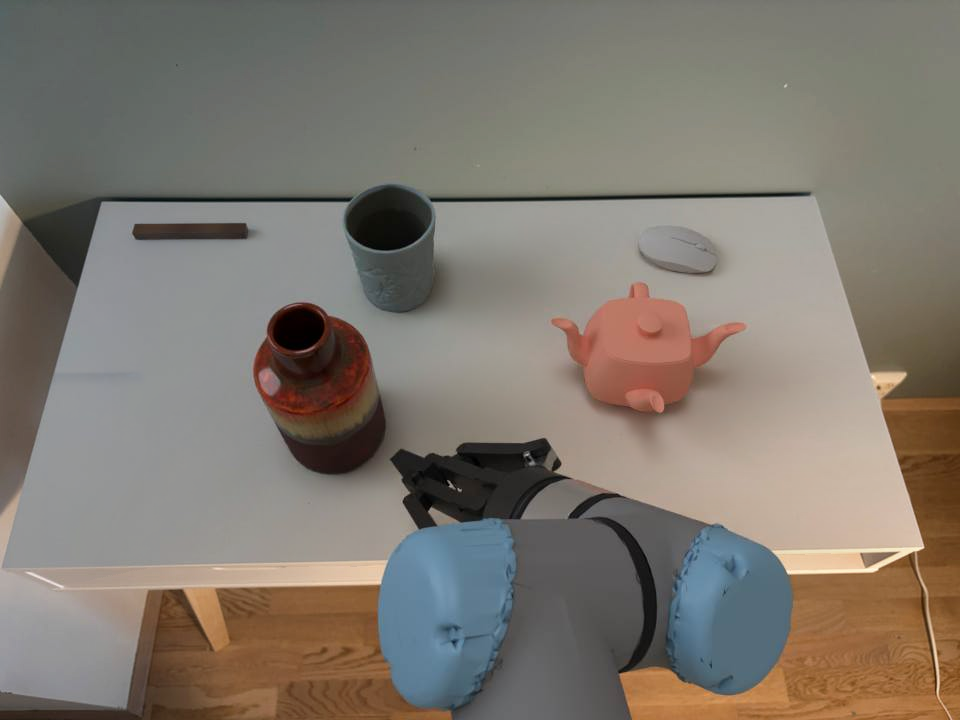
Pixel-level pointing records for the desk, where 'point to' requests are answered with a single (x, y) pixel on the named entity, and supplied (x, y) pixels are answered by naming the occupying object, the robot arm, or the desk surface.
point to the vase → (320, 389)
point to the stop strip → (190, 231)
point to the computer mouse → (678, 249)
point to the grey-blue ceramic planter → (392, 244)
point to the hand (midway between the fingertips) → (403, 464)
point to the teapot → (641, 350)
